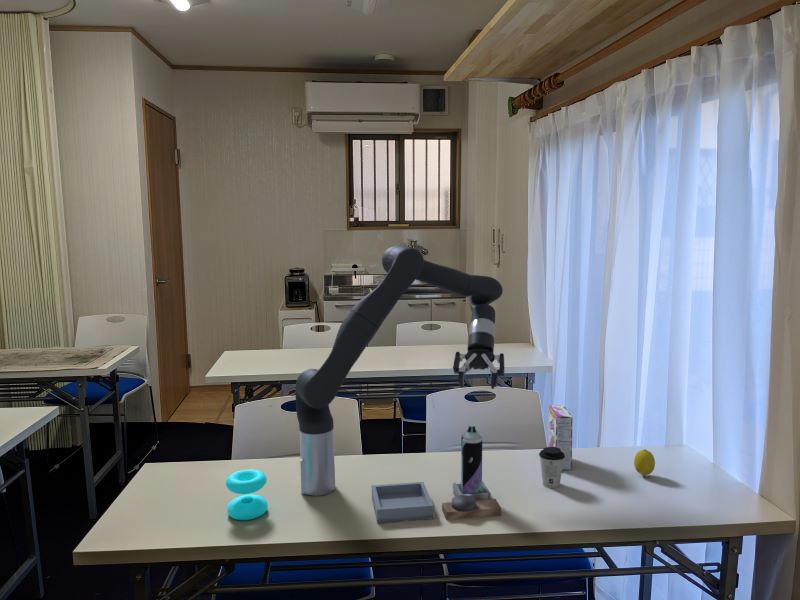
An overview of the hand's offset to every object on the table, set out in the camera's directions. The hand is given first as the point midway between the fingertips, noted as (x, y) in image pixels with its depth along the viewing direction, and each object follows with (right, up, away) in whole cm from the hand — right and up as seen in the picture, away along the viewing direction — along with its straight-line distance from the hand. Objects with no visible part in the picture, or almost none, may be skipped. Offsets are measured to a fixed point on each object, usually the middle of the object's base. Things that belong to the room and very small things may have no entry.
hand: (477, 386), depth 174 cm
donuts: (-60, -30, -13) cm, 69 cm away
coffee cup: (+21, -27, +1) cm, 34 cm away
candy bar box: (+27, -25, +16) cm, 40 cm away
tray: (-21, -30, -12) cm, 38 cm away
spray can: (-2, -29, -7) cm, 30 cm away
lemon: (+48, -26, +6) cm, 55 cm away
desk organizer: (-4, -29, -11) cm, 31 cm away
